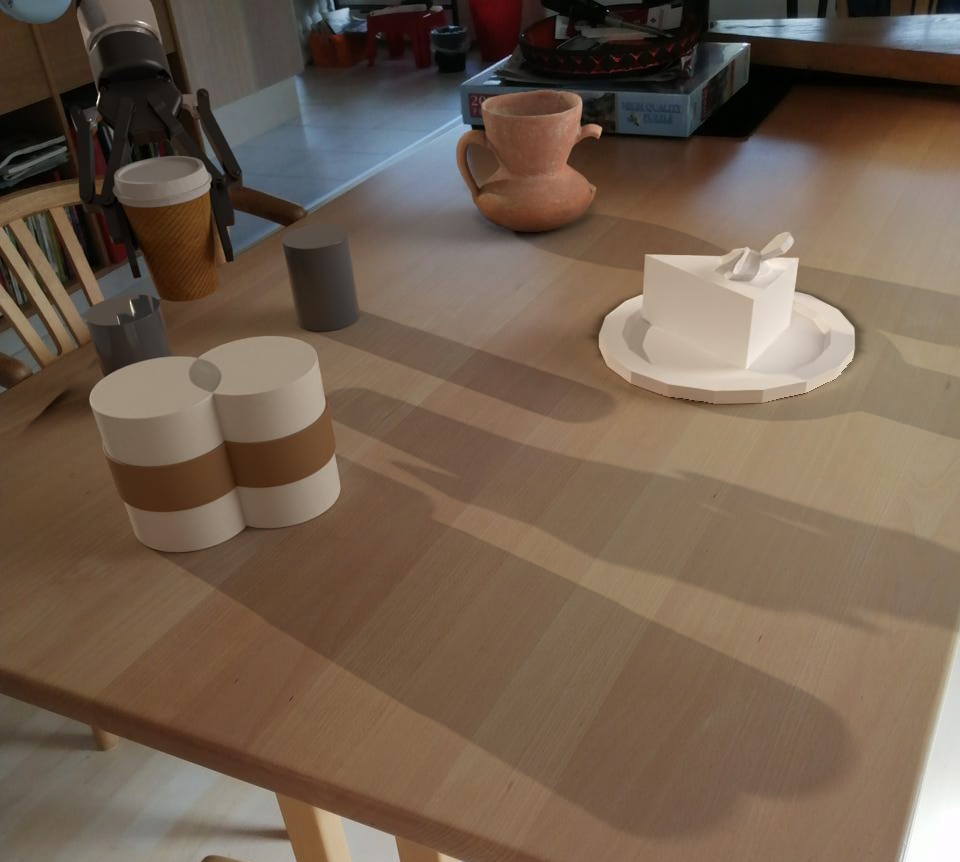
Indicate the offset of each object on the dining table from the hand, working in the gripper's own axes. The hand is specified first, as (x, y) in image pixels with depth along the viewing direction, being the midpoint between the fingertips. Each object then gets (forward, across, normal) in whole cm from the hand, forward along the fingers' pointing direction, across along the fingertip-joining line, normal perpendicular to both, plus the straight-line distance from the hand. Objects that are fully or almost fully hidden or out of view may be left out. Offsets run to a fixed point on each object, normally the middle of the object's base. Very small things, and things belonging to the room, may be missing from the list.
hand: (183, 263), depth 103 cm
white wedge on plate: (+22, -49, +8) cm, 55 cm away
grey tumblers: (+8, -4, -6) cm, 11 cm away
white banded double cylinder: (+29, +1, +15) cm, 32 cm away
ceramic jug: (-8, -45, -21) cm, 50 cm away
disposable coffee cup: (+1, 0, -5) cm, 5 cm away
